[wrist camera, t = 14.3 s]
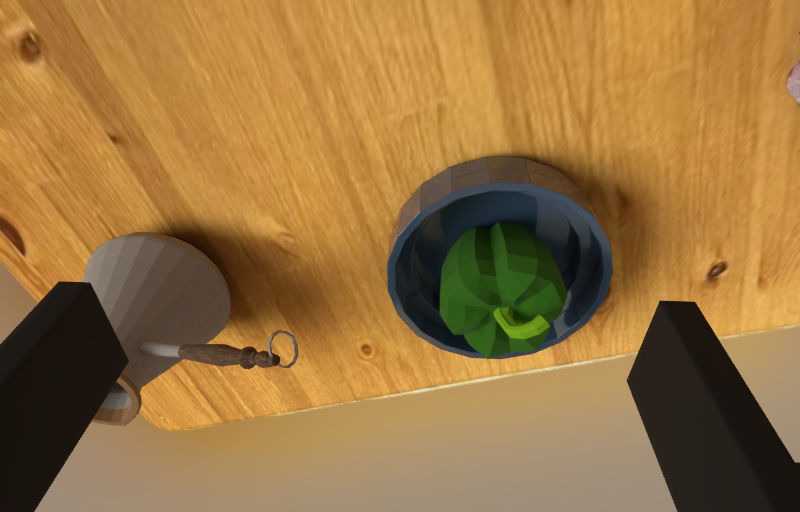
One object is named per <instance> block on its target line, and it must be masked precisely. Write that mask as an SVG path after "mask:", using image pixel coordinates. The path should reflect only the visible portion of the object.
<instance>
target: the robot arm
mask: <svg viewBox="0 0 800 512" xmlns="http://www.w3.org/2000/svg"><path fill="white" fill-rule="evenodd" d="M128 362H129V360H128V358H127V356H126V354H125V352H124V350H123V348H122V346H121V343H120V341H119V339H118V337H117V335H116V333H115V331H114V329H113V327H112V325H111V323H110V321H109V319H108V317H107V315H106V313H105V311H104V309H103V307H102V305H101V303H100V301H99V299H98V297H97V295H96V293H95V291H94V289H93V287H92V285H91V283H90V282H58V283H57V284H56V285H55V286H54V287H53V288H52V290H51V291H50V292H49V293H48V294H47V295H46V296H45V297H44V298H43V299H42V300H41V301H40V302H39V303H38V305H37V306H36V307H35V308H34V309H33V310H32V311H31V312H30V313H29V314H28V315H27V316H26V317H25V319H24V320H23V321H22V322H21V323H20V324H19V325H18V326H17V327H16V328H15V329H14V330H13V331H12V333H11V334H10V335H9V336H8V337H7V338H6V339H5V340H4V341H3V342H2V343H1V344H0V512H34V511H35V509H36V508H37V506H38V505H39V503H40V502H41V500H42V498H43V497H44V495H45V494H46V492H47V490H48V489H49V487H50V486H51V484H52V483H53V481H54V479H55V478H56V476H57V475H58V473H59V472H60V470H61V468H62V467H63V465H64V464H65V462H66V460H67V459H68V457H69V456H70V454H71V452H72V451H73V449H74V448H75V446H76V445H77V443H78V441H79V440H80V438H81V437H82V435H83V434H84V432H85V430H86V429H87V427H88V425H89V424H90V422H91V421H92V419H93V418H94V416H95V415H96V413H97V411H98V410H99V408H100V407H101V405H102V403H103V402H104V400H105V399H106V397H107V396H108V394H109V392H110V391H111V389H112V388H113V386H114V384H115V383H116V381H117V380H118V378H119V377H120V375H121V373H122V372H123V370H124V369H125V367H126V365H127V364H128ZM627 383H628V385H629V388H630V390H631V393H632V396H633V398H634V401H635V403H636V406H637V408H638V411H639V413H640V416H641V419H642V421H643V424H644V427H645V429H646V432H647V434H648V437H649V439H650V442H651V445H652V447H653V450H654V452H655V455H656V457H657V460H658V463H659V465H660V468H661V470H662V473H663V475H664V478H665V481H666V483H667V486H668V488H669V491H670V493H671V496H672V499H673V501H674V504H675V506H676V509H677V511H678V512H800V463H795V462H794V460H793V459H792V457H791V455H790V454H789V452H788V451H787V449H786V447H785V446H784V444H783V443H782V441H781V439H780V438H779V436H778V435H777V433H776V431H775V430H774V428H773V427H772V425H771V423H770V422H769V420H768V418H767V417H766V415H765V414H764V412H763V410H762V409H761V407H760V406H759V404H758V402H757V401H756V399H755V397H754V396H753V394H752V393H751V391H750V389H749V388H748V386H747V385H746V383H745V382H744V380H743V378H742V377H741V375H740V373H739V372H738V370H737V369H736V367H735V365H734V364H733V362H732V361H731V359H730V357H729V356H728V354H727V352H726V351H725V349H724V348H723V346H722V344H721V343H720V341H719V340H718V338H717V336H716V335H715V333H714V332H713V330H712V328H711V327H710V325H709V324H708V322H707V320H706V319H705V317H704V315H703V314H702V312H701V311H700V309H699V307H698V306H697V304H696V303H695V302H685V301H660V302H659V304H658V307H657V309H656V311H655V314H654V316H653V319H652V321H651V323H650V326H649V328H648V331H647V333H646V335H645V338H644V340H643V343H642V345H641V347H640V350H639V352H638V355H637V357H636V359H635V362H634V364H633V367H632V369H631V371H630V374H629V376H628V379H627Z"/></svg>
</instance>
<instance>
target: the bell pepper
mask: <svg viewBox="0 0 800 512" xmlns="http://www.w3.org/2000/svg"><path fill="white" fill-rule="evenodd" d="M567 295H568V293H567V290H566V287H565V284H564V281H563V279H562V276H561V274H560V271H559V269H558V267H557V265H556V263H555V261H554V259H553V256H552V254H551V252H550V250H549V249H548V248H547V247H546V246H545V244H544V243H543V242H542V241H541V240H540V239H539V238H538V237H537V236H536V235H535V234H534V233H533V232H531V231H530V230H528V229H527V228H525V227H524V226H522V225H521V224H519V223H502V222H497V223H496V224H495V225H494V226H493V227H491V228H490V229H487V228H483V227H479V226H478V227H475V228H472V229H469V230H467V231H465V232H464V233H463V234H462V235H461V236H460V237H459V238H458V240H457V241H456V242H455V243H454V244H453V245H452V247H451V249H450V250H449V252H448V254H447V256H446V259H445V261H444V264H443V266H442V271H441V289H440V315H441V317H442V318H443V320H444V322H445V323H446V325H447V327H448V328H449V329H450V331H451V332H452V333H453V335H461V334H464V337H465V339H466V340H467V342H468V343H469V345H470V346H472V347H473V348H474V349H475V350H477V351H478V352H479V353H480V354H482V355H483V356H484V357H485V358H487V359H489V358H493V357H496V356H500V355H503V354H507V353H511V352H524V351H537V349H538V348H539V346H540V345H541V344H542V342H543V341H544V339H545V338H546V337H547V335H548V334H549V331H550V327H551V322H552V321H554V320H556V319H558V317H559V315H560V313H561V311H562V309H563V307H564V304H565V301H566V298H567Z"/></svg>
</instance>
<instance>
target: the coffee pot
mask: <svg viewBox="0 0 800 512" xmlns="http://www.w3.org/2000/svg"><path fill="white" fill-rule="evenodd" d="M84 282H90V283H91V285H92V287H93V289H94V291H95V293H96V295H97V297H98V299H99V301H100V303H101V305H102V307H103V309H104V311H105V313H106V315H107V317H108V319H109V321H110V323H111V325H112V327H113V329H114V331H115V333H116V335H117V337H118V339H119V341H120V343H121V346H122V348H123V350H124V352H125V354H126V356H127V358H128V360H129V362H128V364H127V365H126V367H125V369H124V370H123V372H122V373H121V375H120V377H119V378H118V380H117V381H116V383H115V384H114V386H113V388H112V389H111V391H110V392H109V394H108V396H107V397H106V399H105V400H104V402H103V403H102V405H101V407H100V408H99V410H98V411H97V413H96V415H95V416H94V418H93V419H92V421H91V422H95V423H100V424H108V425H127V424H128V423H129V422H131V421H132V420H133V419H134V418H135V416H136V415H137V414H138V413H139V410H140V407H141V395H140V391H141V388H142V387H143V386H144V385H146V384H147V383H149V382H150V381H152V380H153V379H155V378H156V377H158V376H159V375H161V374H162V373H164V372H165V371H167V370H168V369H170V368H171V367H172V366H174V365H175V364H177V363H178V362H180V361H181V360H183V359H187V360H192V361H197V362H202V363H207V364H212V365H216V366H228V365H238V364H240V366H241V367H243V368H244V369H251V368H253V367H254V366H255V365H258V366H259V367H263V368H264V367H272V366H279V367H284V368H290V367H291V366H292V365H293V364H295V362H296V360H297V357H298V345H297V343H296V340H295V338H294V336H293V335H291V334H290V333H289V332H287V331H280V330H277V331H276V332H275V333H273V334H272V335H271V336H270V339H269V341H268V343H267V344H268V352H267V351H261V352H257V351H256V349H255V348H253V347H249V346H248V347H245V348H243V349H242V350H241V349H238V348H234V347H231V346H229V345H225V344H206V343H208V342H209V341H211V340H212V339H214V338H215V337H216V336H217V335H218V334H219V333H220V332H221V331H222V330H223V329H224V328H225V325H226V323H227V321H228V319H229V317H230V305H231V300H230V293H229V290H228V286H227V283H226V280H225V279H224V277H223V275H222V274H221V272H220V270H219V269H218V267H217V266H216V265H215V264H214V263H213V262H212V261H211V260H210V259H209V258H208V257H207V256H206V255H205V254H204V253H203V252H201V251H200V250H198V249H197V248H195V247H194V246H193V245H191V244H188V243H186V242H184V241H182V240H179V239H177V238H174V237H171V236H167V235H162V234H158V233H145V232H136V233H132V234H128V235H124V236H120V237H116V238H112V239H110V240H109V241H107V242H106V243H104V244H102V245H101V246H99V247H97V249H96V250H95V251H94V253H93V254H92V255H91V257H90V258H89V260H88V262H87V267H86V272H85V277H84ZM279 332H282V333H285V334H287V335H288V336H290V337H291V339H292V341H293V344H294V347H295V356H294V359H293V361H292V362H291V363H290V364H289V365H288V366H282V365H281V364H279V363H280V357H279V356H278V355H275V354H274V353H272V349H271V343H272V340H273V338H274V336H275V335H277V334H278V333H279Z"/></svg>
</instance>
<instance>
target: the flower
mask: <svg viewBox="0 0 800 512" xmlns="http://www.w3.org/2000/svg"><path fill="white" fill-rule="evenodd" d="M799 34H800V32H799ZM787 89H788V91H789V93H790V94H791V96H792V97H793V98H794V99H795V100H796V101H797V102H798V104H799V105H800V57H799V62H798V63H797V64H796V65H795V67H794V68H793V69H792V70H791V72H790V74H789V76H788V78H787Z"/></svg>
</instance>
